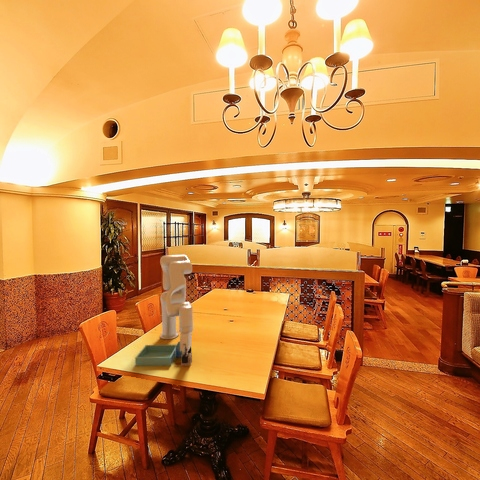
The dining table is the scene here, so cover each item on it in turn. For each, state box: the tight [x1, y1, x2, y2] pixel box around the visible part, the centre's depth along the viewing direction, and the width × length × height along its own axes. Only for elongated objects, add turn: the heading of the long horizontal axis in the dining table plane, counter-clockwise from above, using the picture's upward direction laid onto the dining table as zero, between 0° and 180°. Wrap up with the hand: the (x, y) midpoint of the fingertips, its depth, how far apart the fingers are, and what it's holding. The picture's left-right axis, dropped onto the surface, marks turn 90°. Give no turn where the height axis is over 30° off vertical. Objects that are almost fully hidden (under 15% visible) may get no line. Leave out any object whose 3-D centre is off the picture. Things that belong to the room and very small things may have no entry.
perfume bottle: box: [175, 340, 186, 359], centre depth 150 cm, size 6×6×12 cm
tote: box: [134, 344, 177, 367], centre depth 147 cm, size 16×20×4 cm
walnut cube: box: [180, 352, 193, 367], centre depth 141 cm, size 5×5×5 cm
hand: (186, 358), depth 140 cm, fingers open, 9 cm apart
